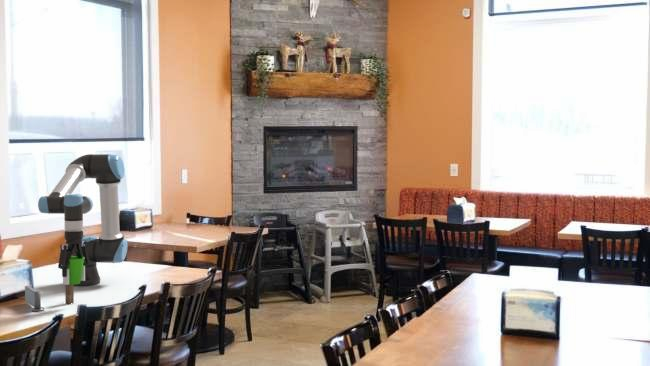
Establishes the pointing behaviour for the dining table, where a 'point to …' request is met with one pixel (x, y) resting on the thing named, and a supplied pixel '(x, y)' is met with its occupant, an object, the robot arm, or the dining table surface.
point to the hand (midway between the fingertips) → (74, 282)
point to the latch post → (69, 293)
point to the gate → (33, 297)
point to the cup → (75, 270)
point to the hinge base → (37, 310)
